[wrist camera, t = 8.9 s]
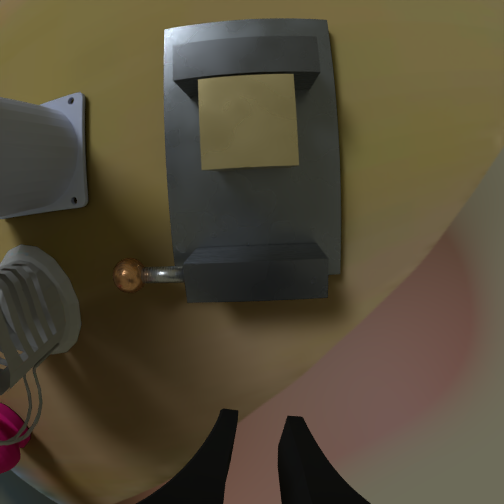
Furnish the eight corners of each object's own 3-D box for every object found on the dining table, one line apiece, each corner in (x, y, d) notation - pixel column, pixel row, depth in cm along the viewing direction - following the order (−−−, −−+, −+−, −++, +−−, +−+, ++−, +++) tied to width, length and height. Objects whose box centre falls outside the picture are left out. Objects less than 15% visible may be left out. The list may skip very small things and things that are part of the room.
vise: (180, 275, 20) (160, 302, 16) (168, 35, 16) (146, 5, 12) (336, 269, 20) (355, 294, 15) (323, 26, 16) (338, -7, 12)
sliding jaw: (129, 281, 19) (105, 302, 16) (124, 251, 19) (99, 266, 15) (316, 275, 19) (327, 297, 15) (316, 243, 18) (328, 258, 15)
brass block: (217, 171, 18) (201, 170, 13) (214, 103, 17) (197, 79, 12) (288, 167, 17) (298, 165, 13) (284, 99, 16) (293, 73, 12)
